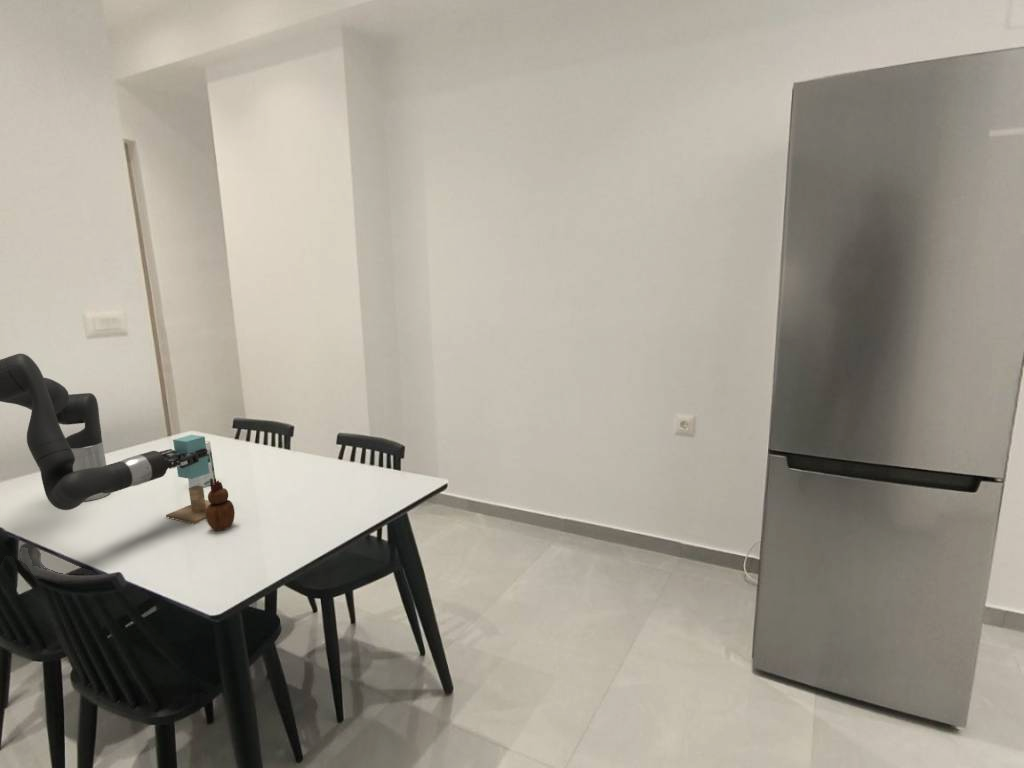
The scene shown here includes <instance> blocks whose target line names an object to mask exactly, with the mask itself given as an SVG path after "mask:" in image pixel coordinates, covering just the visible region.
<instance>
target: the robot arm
mask: <svg viewBox="0 0 1024 768" xmlns="http://www.w3.org/2000/svg"><path fill="white" fill-rule="evenodd" d="M0 402H1V403H8V404H12V405H18V406H20V407H23V408H24V407H25V408H27V409H28V410H30V411H31V415H30V419H29V423H28V426H27V431H26V444H27V447H28V449H29V452H30V453H31V456H32V457H33V459H34V461H35V464H36V465H37V467H38V468H39V471H40V477H41V481H42V486H43V489H44V493H45V495H46V498H47V500H48V501H49V503H50V504H51V505H52V506H53V507H55V508H57V509H58V510H62V511H69V510H73V509H75V508H77V507H79V506H80V505H81V504H82V503H83V502H86V501H87V502H88V501H94V500H98V499H101V498H104V497H105V498H106V496H108V495H110V494H111V493H115V492H118V491H121V490H124V489H128V488H130V487H135V486H139V485H142V484H145V483H148V482H151V481H154V480H156V479H160V478H162V477H164V476H165V475H166V474H167V472H168V471H167V470H169V469H171V470H172V469H177V466H180V468H185V467H187V466H190V465H192V464H195V463H197V462H199V458H202V457H205V456H207V455H208V453H207V449H205V448H204V449H201V450H198V451H194V452H190V453H185V452H181V453H176V452H175V450H174V449H173V448H172V449H171V448H169V449H165V450H161V451H157V450H151V451H147V452H144V453H140V454H137V455H134V456H130V457H127V458H125V459H122V460H120V461H117V462H113V463H110V464H107V460H106V455H105V449H104V448H105V447H104V444H103V443H104V442H103V438H102V429H101V422H100V421H101V420H100V411H99V404H98V400H97V397H96V396H95V395H94V394H93V393H90V392H85V393H74V394H73V393H72V394H70V393H69V391H68V390H67V389H66V386H63V385H62V384H61V383H59V382H57V381H56V380H53V379H51V378H48V377H44V375H43V374H42V371H41V370H40V367H39V366H38V364H36V362H35V361H34V360H33V359H32V358H31V357H30V356H29V355H27V354H25V353H16V354H13V355H9V356H7V357H5V358H1V359H0ZM79 424H84V428H83V429H81V430H80V431H78V432H75V433H72V434H70V435H68V436H65V434H64V433H63V430H62V428H61V425H67V426H69V425H79ZM175 453H176V454H175ZM181 455H183V458H181ZM188 455H189V456H188Z"/></svg>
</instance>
